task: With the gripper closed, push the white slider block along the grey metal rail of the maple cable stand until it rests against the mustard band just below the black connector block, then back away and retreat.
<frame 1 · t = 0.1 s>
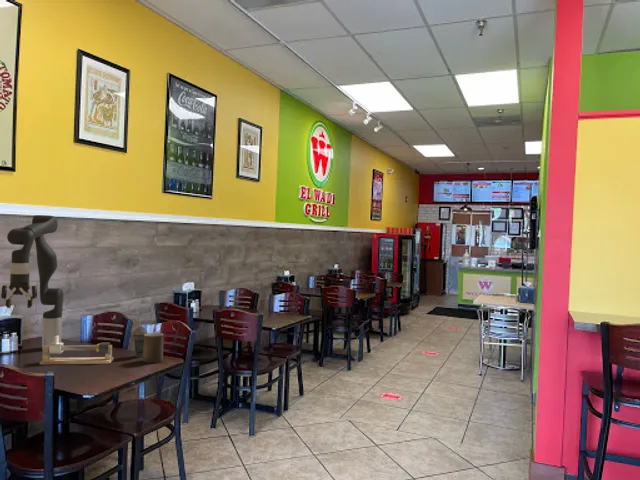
hand: (19, 307, 224), 29 cm above the table, fingers open, 8 cm apart
beverage cup: (140, 356, 258), on the table
pillar candle: (152, 361, 250), on the table
white slider block: (56, 344, 241), point 9 cm above the table, slide at 0.0 cm
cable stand: (77, 361, 243), on the table
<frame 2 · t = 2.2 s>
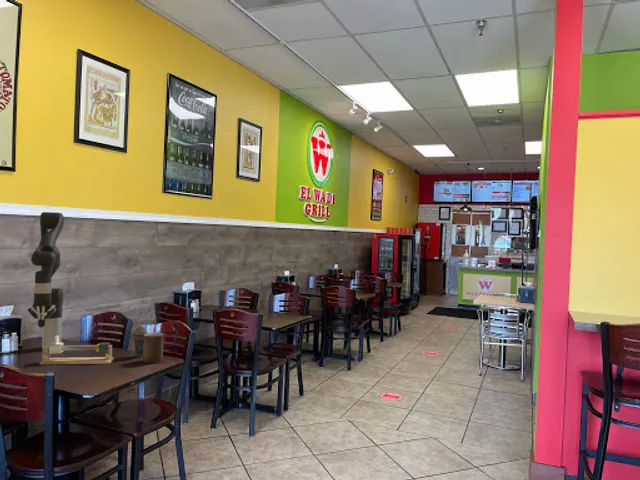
hand: (41, 327, 240), 17 cm above the table, fingers closed
nothing on the table moved.
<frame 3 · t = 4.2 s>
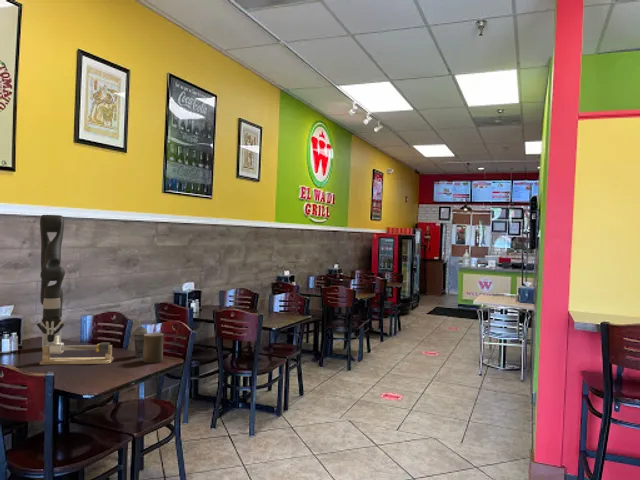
hand: (50, 342, 240), 10 cm above the table, fingers closed
white slider block: (56, 344, 241), point 9 cm above the table, slide at 0.1 cm, touching gripper
everything else where it was.
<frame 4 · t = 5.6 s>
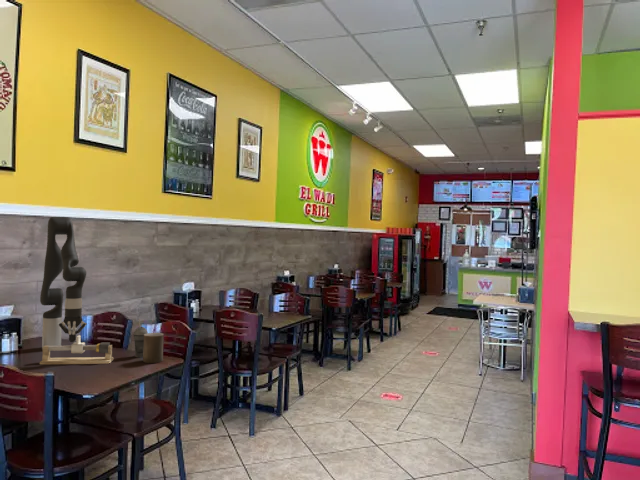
hand: (72, 341, 242), 10 cm above the table, fingers closed
white slider block: (78, 344, 243), point 9 cm above the table, slide at 10.1 cm, touching gripper
everything else where it was.
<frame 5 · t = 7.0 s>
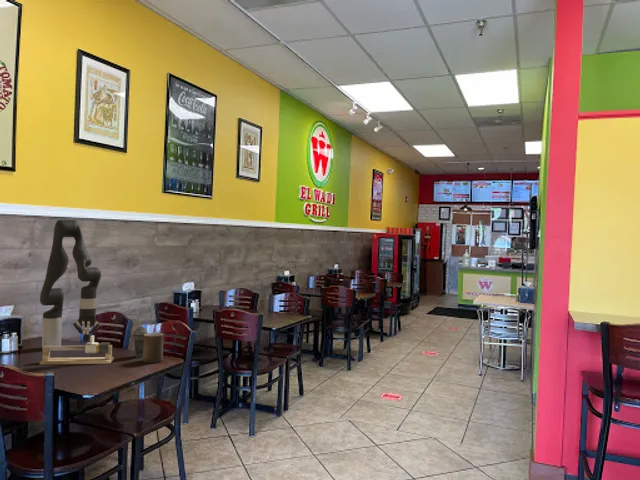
hand: (86, 341, 243), 10 cm above the table, fingers closed
white slider block: (92, 344, 244), point 9 cm above the table, slide at 16.5 cm, touching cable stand, gripper
everything else where it was.
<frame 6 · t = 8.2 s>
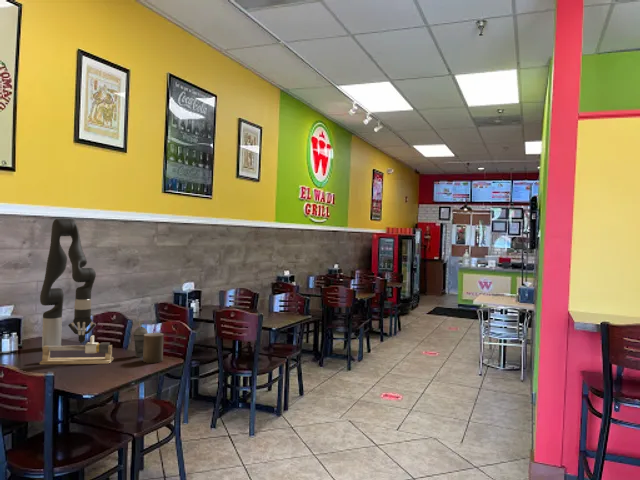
hand: (81, 342, 244), 10 cm above the table, fingers closed
white slider block: (92, 344, 244), point 9 cm above the table, slide at 16.5 cm, touching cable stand
everything else where it was.
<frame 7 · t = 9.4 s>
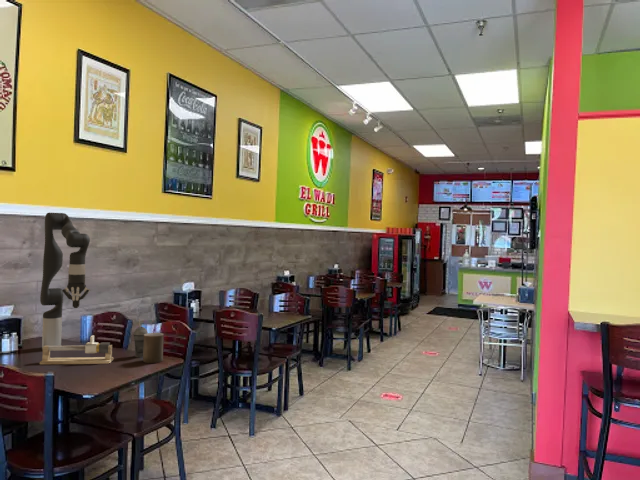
hand: (75, 307, 243), 27 cm above the table, fingers closed
nothing on the table moved.
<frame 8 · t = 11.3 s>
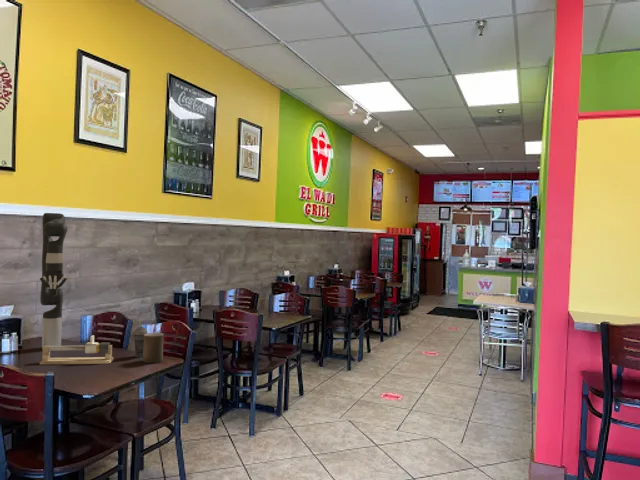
hand: (53, 296, 246), 32 cm above the table, fingers closed
nothing on the table moved.
at the end: white slider block slide at 16.5 cm; the gripper is holding nothing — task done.
